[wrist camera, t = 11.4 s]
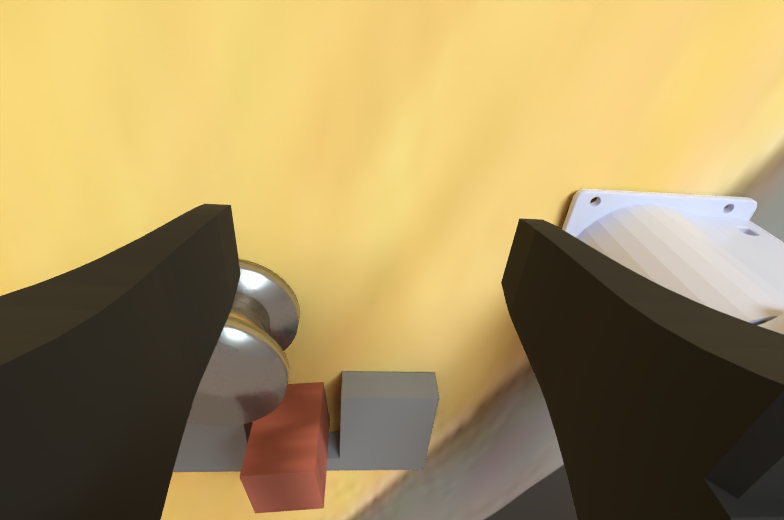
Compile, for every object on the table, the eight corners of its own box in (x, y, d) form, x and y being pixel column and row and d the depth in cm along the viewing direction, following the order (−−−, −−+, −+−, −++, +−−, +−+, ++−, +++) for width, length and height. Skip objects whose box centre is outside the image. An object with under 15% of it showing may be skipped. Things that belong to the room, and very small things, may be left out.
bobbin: (297, 260, 22) (281, 326, 18) (302, 354, 26) (290, 426, 22) (157, 255, 22) (108, 323, 17) (183, 352, 25) (148, 426, 21)
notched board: (434, 372, 28) (439, 397, 26) (420, 444, 32) (423, 469, 30) (146, 369, 26) (131, 396, 24) (172, 444, 30) (162, 472, 29)
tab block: (323, 381, 28) (314, 471, 23) (330, 419, 30) (323, 508, 25) (261, 385, 28) (239, 476, 23) (273, 423, 30) (255, 513, 25)
